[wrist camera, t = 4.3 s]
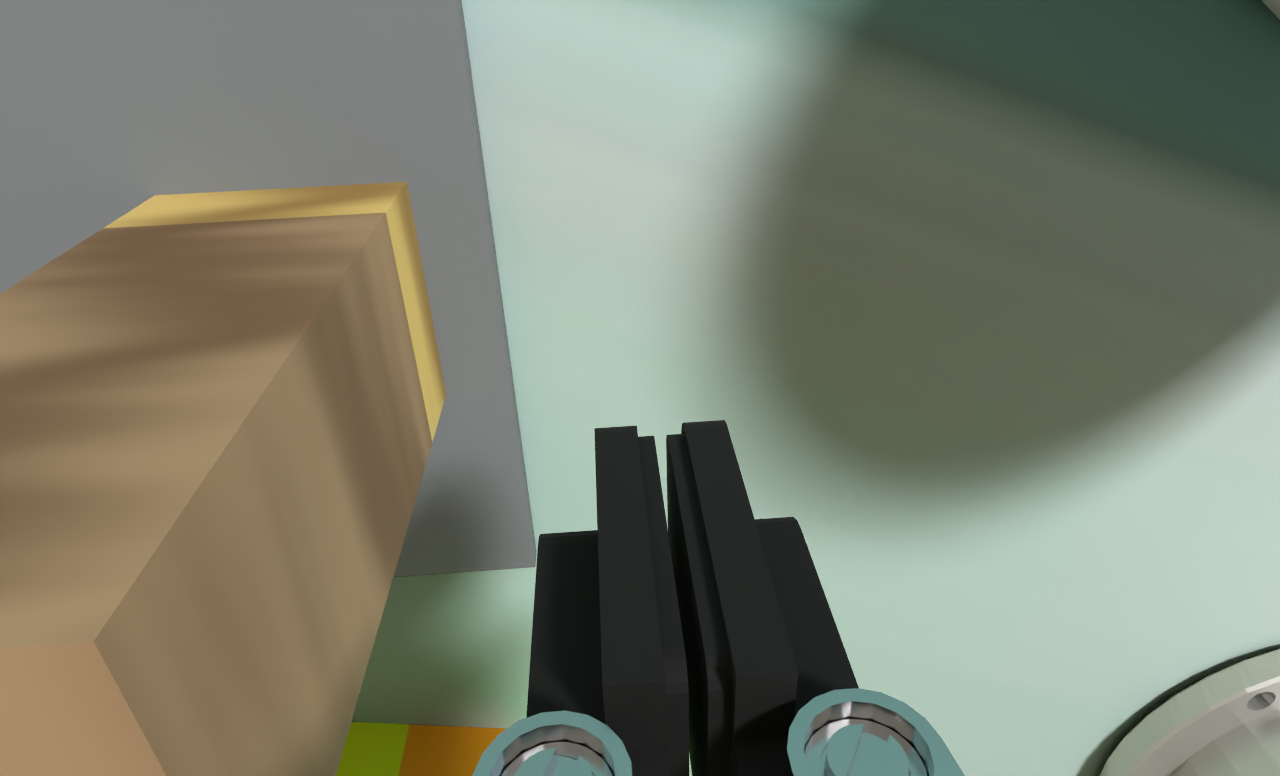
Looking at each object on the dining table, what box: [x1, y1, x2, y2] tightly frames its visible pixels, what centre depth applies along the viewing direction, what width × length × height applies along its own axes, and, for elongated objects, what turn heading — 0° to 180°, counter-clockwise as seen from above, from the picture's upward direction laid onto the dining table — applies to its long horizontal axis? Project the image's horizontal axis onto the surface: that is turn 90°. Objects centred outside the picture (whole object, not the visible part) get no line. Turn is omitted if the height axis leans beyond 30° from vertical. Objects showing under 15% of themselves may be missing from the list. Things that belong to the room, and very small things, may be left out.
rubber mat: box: [0, 0, 536, 577], centre depth 17 cm, size 20×16×1 cm
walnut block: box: [0, 182, 446, 776], centre depth 12 cm, size 5×5×12 cm
